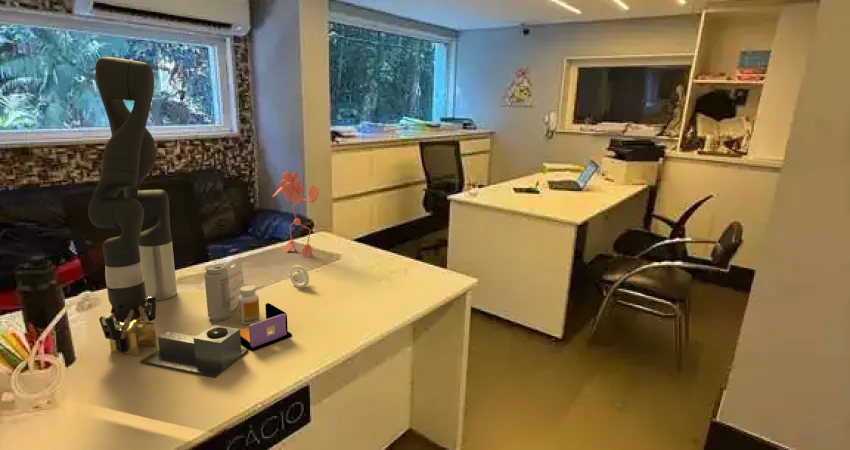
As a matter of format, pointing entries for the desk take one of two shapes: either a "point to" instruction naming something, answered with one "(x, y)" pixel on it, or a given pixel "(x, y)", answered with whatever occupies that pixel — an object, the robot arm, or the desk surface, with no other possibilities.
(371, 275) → the desk surface
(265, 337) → the toy room diorama
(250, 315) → the supplement bottle
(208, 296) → the energy drink can
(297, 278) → the ring around a ball
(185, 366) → the grey knob base
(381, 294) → the desk surface
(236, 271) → the ink cartridge box
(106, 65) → the robot arm
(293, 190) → the flower sculpture
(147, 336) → the brass open box
